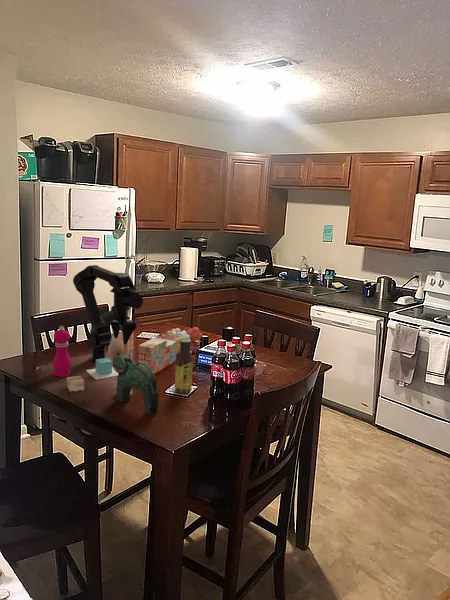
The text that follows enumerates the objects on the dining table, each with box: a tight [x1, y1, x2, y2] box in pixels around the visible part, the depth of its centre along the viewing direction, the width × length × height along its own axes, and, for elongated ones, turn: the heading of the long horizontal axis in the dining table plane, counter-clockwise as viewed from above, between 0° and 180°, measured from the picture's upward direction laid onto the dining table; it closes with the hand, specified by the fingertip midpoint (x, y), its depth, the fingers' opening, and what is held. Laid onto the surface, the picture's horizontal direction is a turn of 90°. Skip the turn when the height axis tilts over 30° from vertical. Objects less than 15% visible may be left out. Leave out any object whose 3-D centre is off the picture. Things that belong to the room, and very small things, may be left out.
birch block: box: [66, 375, 85, 393], centre depth 188 cm, size 5×5×4 cm
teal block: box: [95, 357, 113, 375], centre depth 204 cm, size 5×5×5 cm
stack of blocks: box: [137, 337, 178, 375], centre depth 214 cm, size 21×6×12 cm, turn 156°
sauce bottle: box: [174, 339, 194, 394], centre depth 189 cm, size 6×6×20 cm
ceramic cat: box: [112, 349, 160, 416], centre depth 174 cm, size 20×6×20 cm, turn 51°
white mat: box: [85, 366, 118, 381], centre depth 205 cm, size 11×11×1 cm
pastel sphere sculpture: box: [154, 326, 203, 355], centre depth 243 cm, size 25×24×9 cm
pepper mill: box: [52, 325, 72, 378], centre depth 199 cm, size 7×7×20 cm
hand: (120, 341), depth 209 cm, fingers open, 9 cm apart
